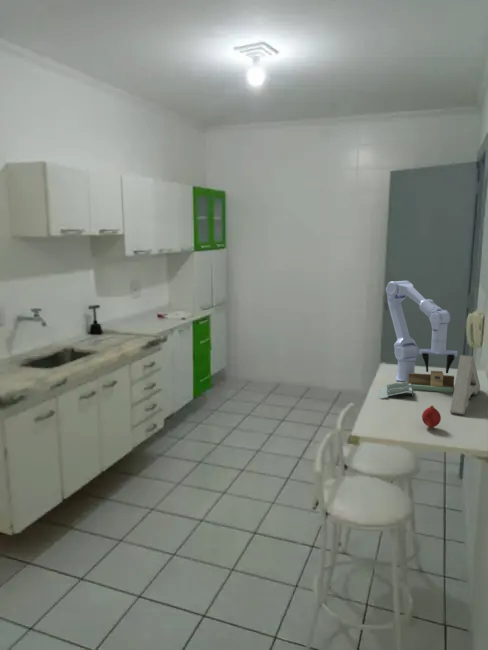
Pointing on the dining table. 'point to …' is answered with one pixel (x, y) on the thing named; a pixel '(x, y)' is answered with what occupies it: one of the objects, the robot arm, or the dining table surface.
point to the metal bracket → (396, 389)
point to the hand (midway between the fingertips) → (436, 372)
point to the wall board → (425, 379)
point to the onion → (431, 417)
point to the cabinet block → (436, 378)
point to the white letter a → (464, 384)
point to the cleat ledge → (432, 388)
